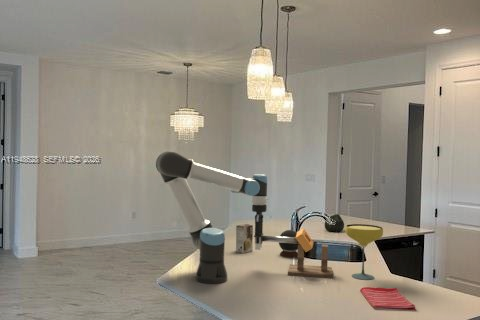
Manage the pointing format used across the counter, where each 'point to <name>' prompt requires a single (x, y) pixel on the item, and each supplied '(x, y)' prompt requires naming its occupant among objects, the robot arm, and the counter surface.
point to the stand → (311, 270)
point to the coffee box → (244, 238)
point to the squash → (337, 226)
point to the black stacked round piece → (289, 245)
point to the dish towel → (386, 299)
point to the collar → (304, 240)
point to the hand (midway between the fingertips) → (258, 248)
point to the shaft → (278, 239)
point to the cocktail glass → (363, 241)
